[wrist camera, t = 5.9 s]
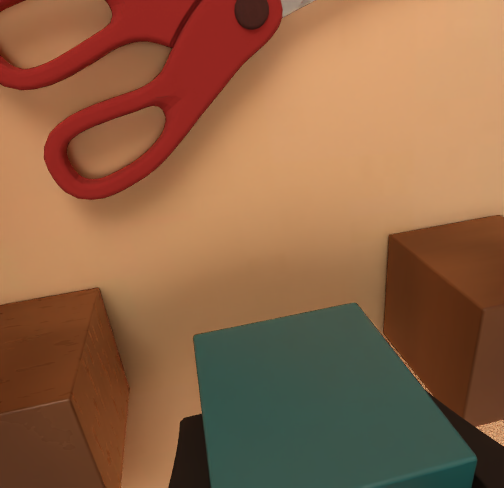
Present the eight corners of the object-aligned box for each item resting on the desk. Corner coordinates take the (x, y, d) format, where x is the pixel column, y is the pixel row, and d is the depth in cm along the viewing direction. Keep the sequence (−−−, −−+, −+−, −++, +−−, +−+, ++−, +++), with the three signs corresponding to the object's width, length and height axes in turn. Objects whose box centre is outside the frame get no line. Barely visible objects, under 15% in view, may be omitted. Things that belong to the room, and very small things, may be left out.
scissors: (-50, 10, 10) (-70, 6, 9) (476, -237, 10) (507, -265, 9) (81, 203, 12) (75, 215, 11) (498, 6, 12) (525, 2, 11)
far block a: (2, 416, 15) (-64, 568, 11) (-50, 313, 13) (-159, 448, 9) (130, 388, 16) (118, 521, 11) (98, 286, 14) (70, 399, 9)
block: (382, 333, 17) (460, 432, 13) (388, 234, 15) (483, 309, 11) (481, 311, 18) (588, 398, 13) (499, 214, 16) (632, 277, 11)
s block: (215, 451, 13) (246, 668, 8) (192, 333, 11) (216, 536, 6) (353, 417, 13) (452, 601, 9) (356, 300, 11) (484, 462, 7)
